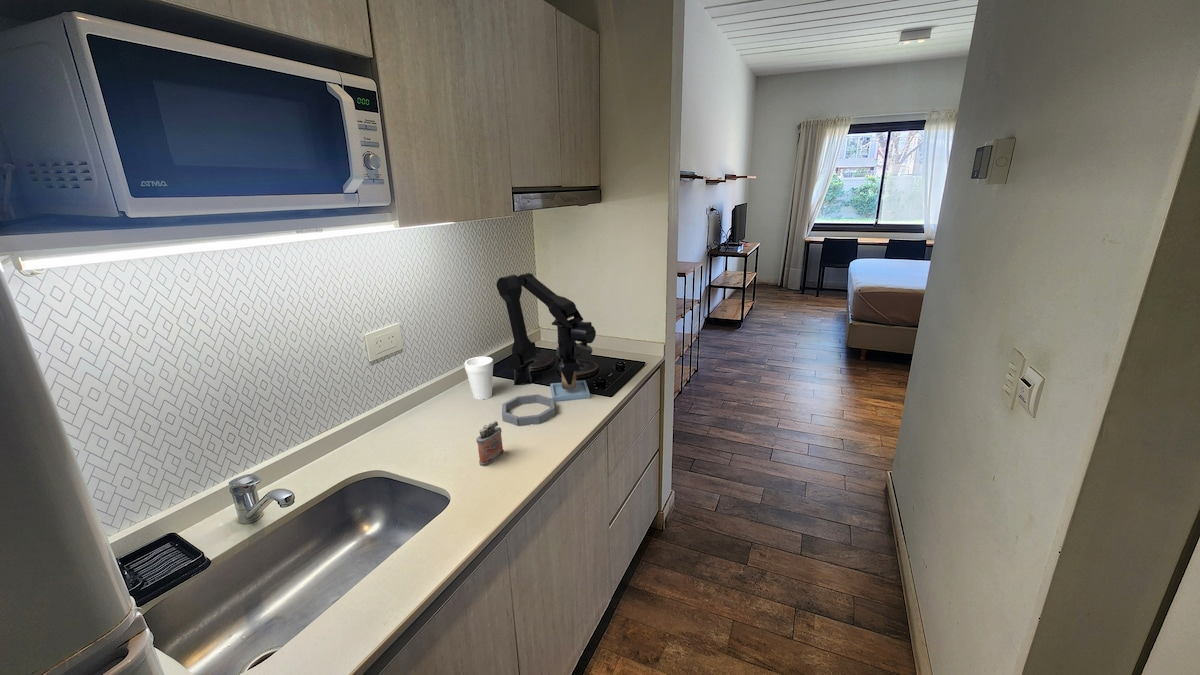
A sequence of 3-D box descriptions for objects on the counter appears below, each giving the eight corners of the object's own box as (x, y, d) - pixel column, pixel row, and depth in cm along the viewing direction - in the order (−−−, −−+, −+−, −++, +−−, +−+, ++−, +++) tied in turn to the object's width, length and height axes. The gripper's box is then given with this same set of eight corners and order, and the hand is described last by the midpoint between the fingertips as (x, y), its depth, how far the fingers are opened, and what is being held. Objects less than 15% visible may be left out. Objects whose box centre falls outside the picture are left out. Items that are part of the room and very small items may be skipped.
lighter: (485, 467, 127) (481, 433, 124) (476, 464, 129) (472, 430, 126) (506, 453, 133) (503, 420, 130) (497, 449, 135) (494, 417, 132)
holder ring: (503, 404, 163) (502, 397, 162) (552, 399, 165) (552, 392, 164) (502, 427, 147) (501, 420, 146) (556, 421, 150) (555, 414, 149)
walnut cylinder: (561, 384, 171) (560, 366, 169) (575, 383, 171) (574, 364, 169) (562, 390, 166) (561, 371, 164) (577, 389, 167) (576, 370, 165)
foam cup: (499, 390, 174) (496, 356, 170) (491, 402, 165) (487, 366, 161) (474, 390, 175) (470, 356, 171) (464, 401, 166) (460, 366, 162)
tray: (550, 388, 174) (550, 383, 173) (585, 384, 176) (585, 380, 175) (552, 402, 163) (552, 397, 163) (590, 398, 165) (589, 393, 164)
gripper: (594, 345, 156) (596, 390, 161) (586, 328, 173) (588, 369, 178) (559, 348, 154) (562, 393, 159) (555, 331, 172) (557, 372, 176)
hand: (568, 381), depth 168 cm, fingers closed on walnut cylinder, 5 cm apart
